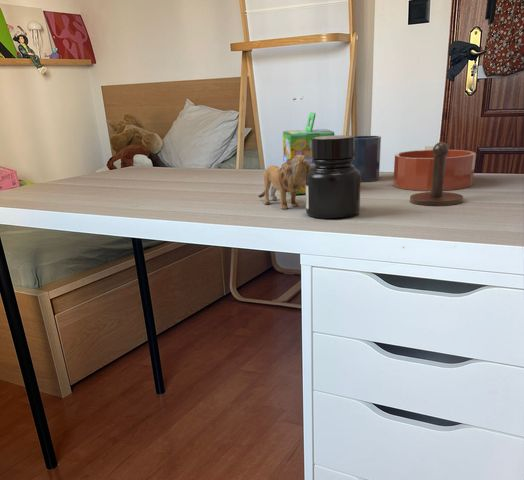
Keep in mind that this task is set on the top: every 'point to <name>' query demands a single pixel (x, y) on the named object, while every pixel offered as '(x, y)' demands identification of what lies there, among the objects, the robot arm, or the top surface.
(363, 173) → the cup
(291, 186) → the lion figurine
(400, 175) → the bowl
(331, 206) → the ink bottle
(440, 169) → the holder post
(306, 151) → the green juice box
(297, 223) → the top surface
